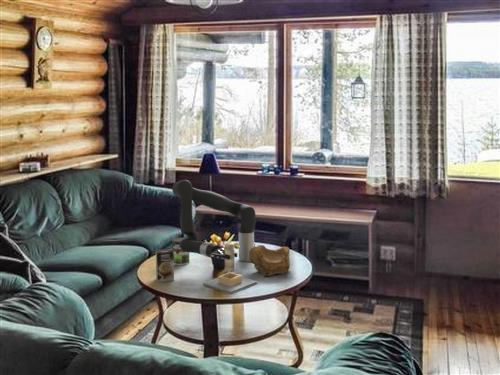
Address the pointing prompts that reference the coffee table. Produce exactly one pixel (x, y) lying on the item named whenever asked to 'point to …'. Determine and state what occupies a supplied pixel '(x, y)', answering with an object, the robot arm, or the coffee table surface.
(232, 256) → the wooden peg
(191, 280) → the coffee table surface
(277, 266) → the rough brown rock
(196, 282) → the coffee table surface
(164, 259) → the coffee box
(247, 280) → the collar board
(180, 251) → the coffee can
